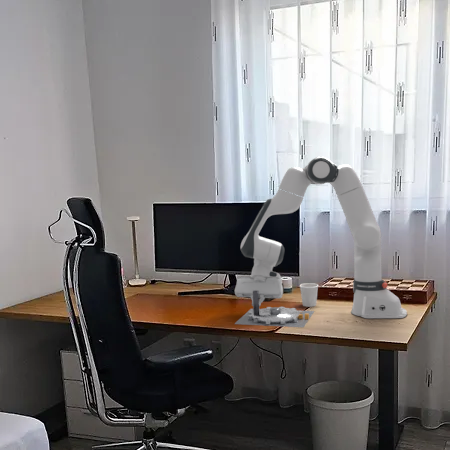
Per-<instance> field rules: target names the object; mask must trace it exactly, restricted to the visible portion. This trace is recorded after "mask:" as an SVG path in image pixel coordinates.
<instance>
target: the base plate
mask: <svg viewBox="0 0 450 450" xmlns="http://www.w3.org/2000/svg"><path fill="white" fill-rule="evenodd" d="M302 311H303V319H298V320H297V322H287V323H285V324H280V323H276V324H272V323H271V324H266V323H261V322H258V323H255V322H254V320H249V319H248V312H253V308H250V309H249V310H248V311H247V312H246V313H245V314H243V315H242V316H241V317H240V318H239V319H238V320H237V321H236V322H235V323H234V325H242V326H243V325H246V326H265V327H266V326H267V327H269V326H270V327H285V328H286V327H288V328H305V326H306V325H307V323H308V322H309V320H310V319H311V317H312V315H314V313H315V311H314V310H302Z"/></svg>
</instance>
